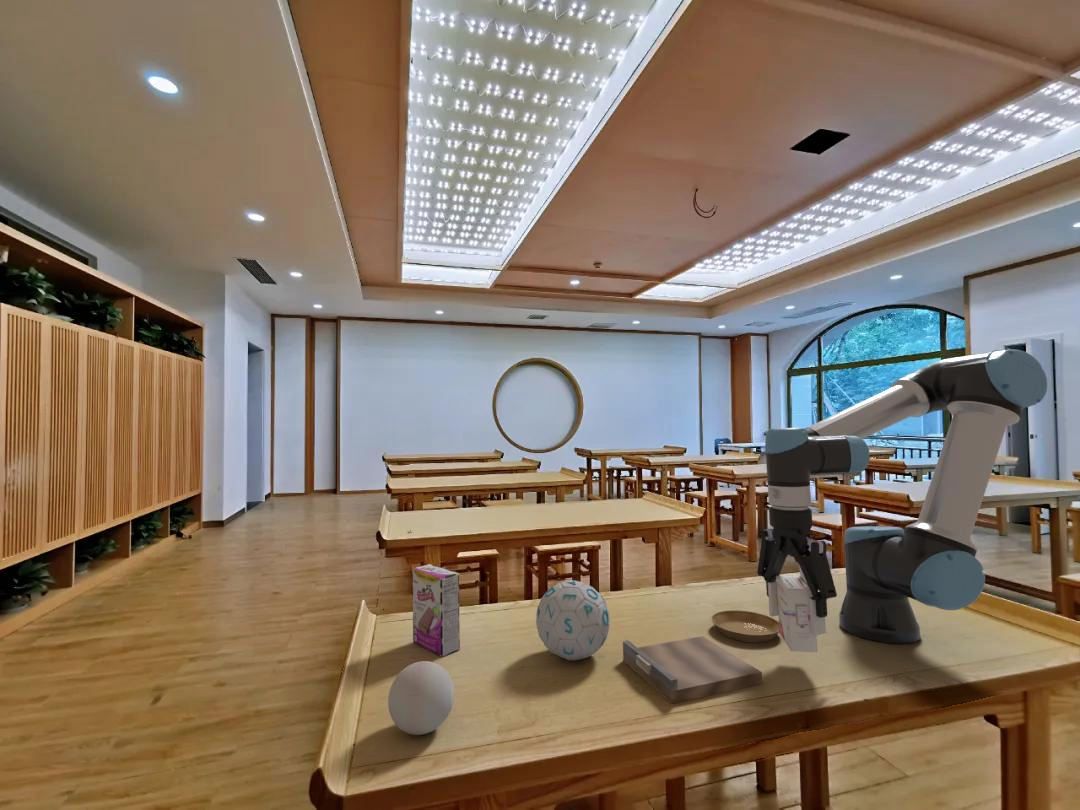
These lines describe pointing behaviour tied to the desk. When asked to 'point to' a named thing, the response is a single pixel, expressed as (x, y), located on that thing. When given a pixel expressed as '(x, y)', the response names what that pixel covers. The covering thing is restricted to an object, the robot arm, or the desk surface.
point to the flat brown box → (690, 668)
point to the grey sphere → (421, 698)
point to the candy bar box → (436, 609)
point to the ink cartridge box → (795, 613)
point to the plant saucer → (734, 625)
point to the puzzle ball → (572, 620)
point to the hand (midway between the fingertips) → (796, 623)
